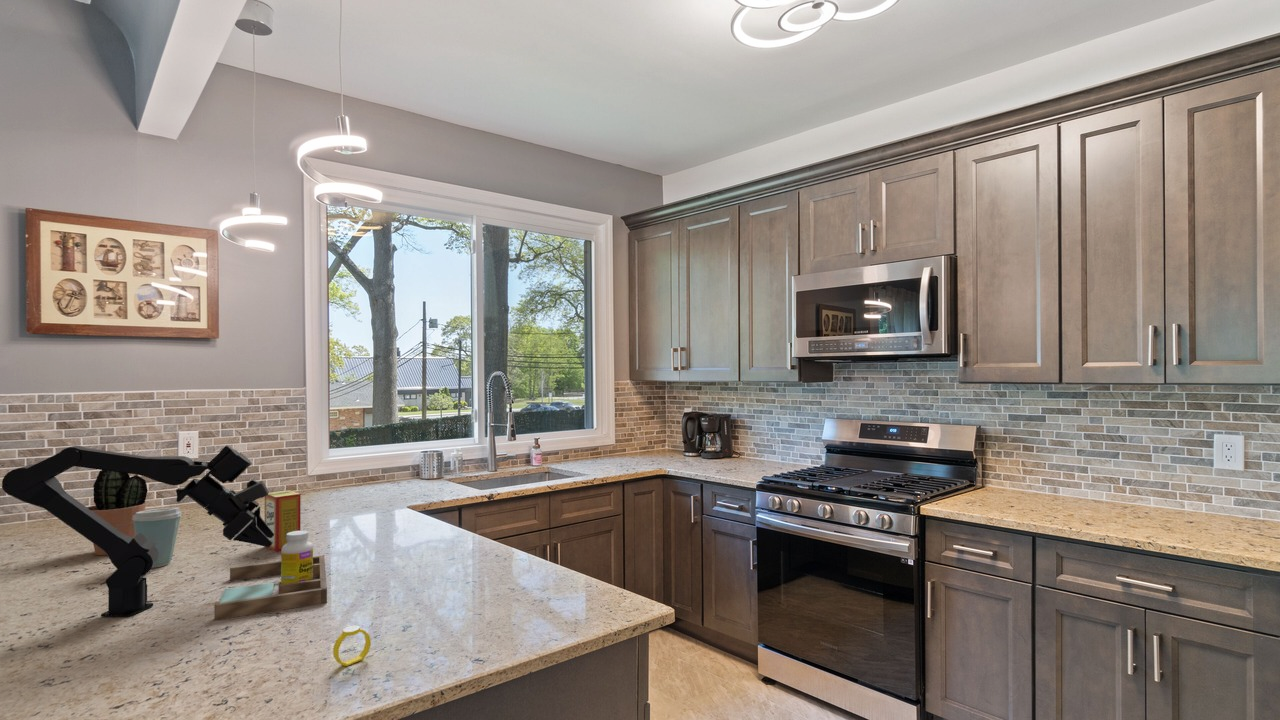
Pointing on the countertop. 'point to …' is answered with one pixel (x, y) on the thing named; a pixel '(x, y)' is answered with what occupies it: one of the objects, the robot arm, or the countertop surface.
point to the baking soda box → (282, 516)
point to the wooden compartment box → (270, 591)
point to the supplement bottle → (297, 558)
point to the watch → (348, 632)
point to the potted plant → (118, 500)
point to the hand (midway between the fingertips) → (271, 540)
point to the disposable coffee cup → (159, 530)
